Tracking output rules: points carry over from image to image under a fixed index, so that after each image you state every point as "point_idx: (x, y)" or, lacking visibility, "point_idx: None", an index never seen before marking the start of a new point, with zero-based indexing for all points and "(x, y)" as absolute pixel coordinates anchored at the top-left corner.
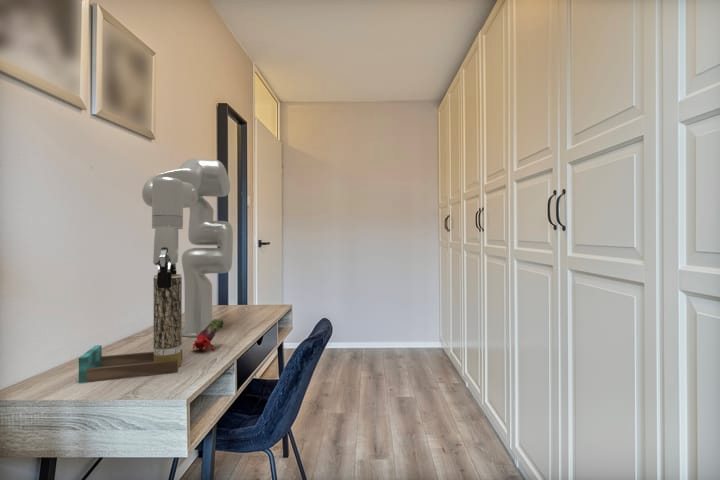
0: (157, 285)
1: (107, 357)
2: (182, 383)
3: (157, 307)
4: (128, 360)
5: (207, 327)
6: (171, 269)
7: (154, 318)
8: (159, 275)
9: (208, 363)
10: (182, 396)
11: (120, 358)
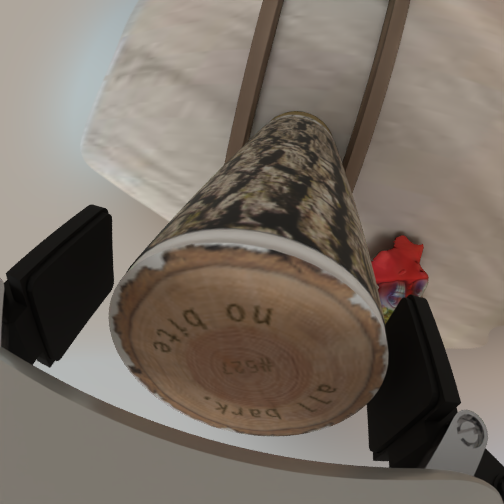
0: (82, 211)
1: (393, 6)
2: (151, 161)
3: (229, 160)
4: (378, 57)
5: None
6: (397, 451)
7: (268, 135)
8: (28, 273)
9: None
10: (90, 155)
11: (384, 37)
